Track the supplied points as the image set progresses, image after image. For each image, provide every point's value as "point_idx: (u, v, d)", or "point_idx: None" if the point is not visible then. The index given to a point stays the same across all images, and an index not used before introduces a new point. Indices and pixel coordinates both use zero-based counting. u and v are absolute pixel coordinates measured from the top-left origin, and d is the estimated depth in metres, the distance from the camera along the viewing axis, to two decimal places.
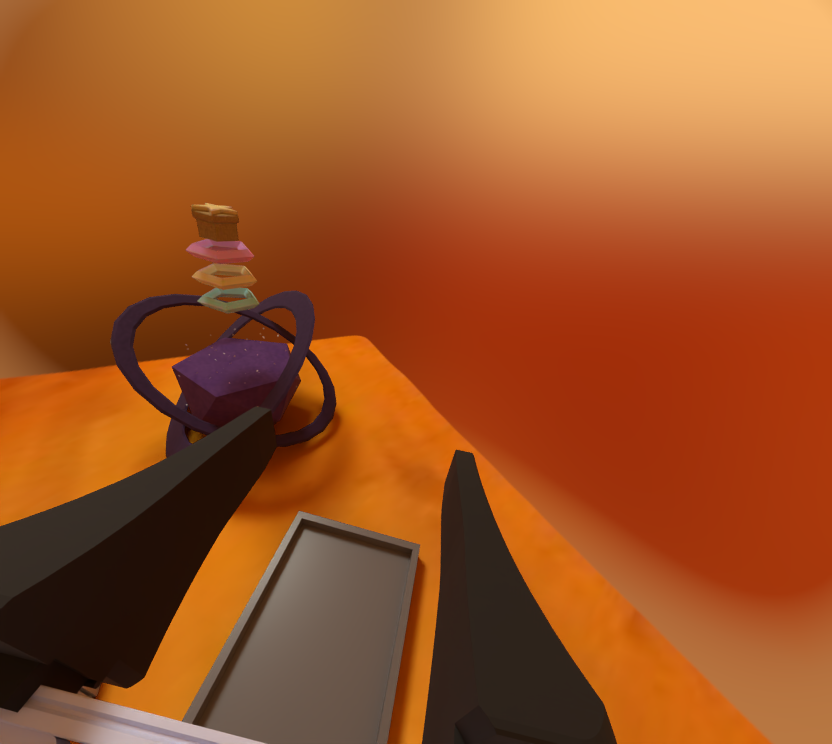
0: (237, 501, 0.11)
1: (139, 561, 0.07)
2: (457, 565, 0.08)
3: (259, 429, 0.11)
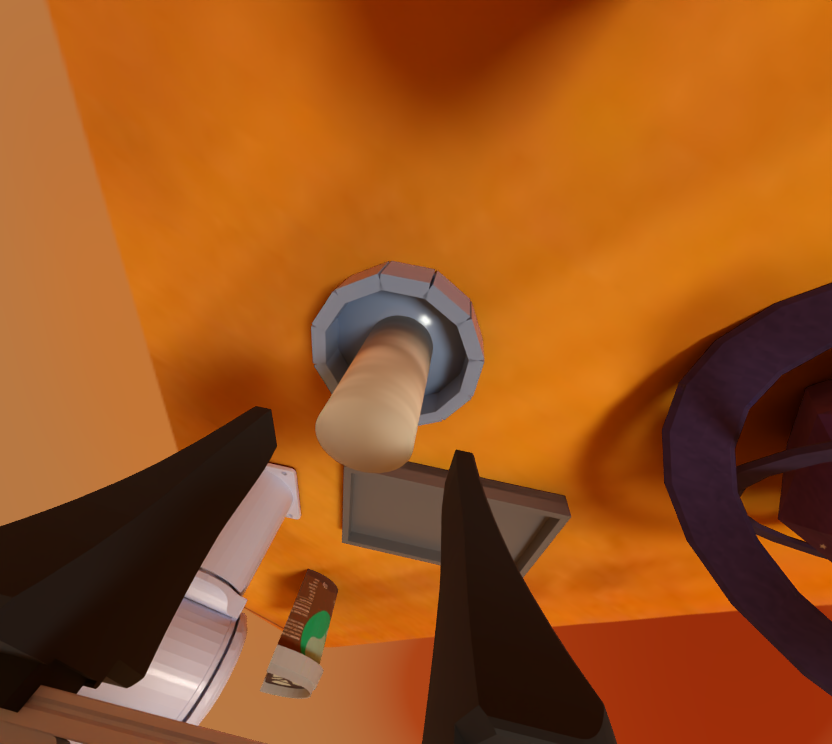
0: (237, 501, 0.11)
1: (139, 561, 0.07)
2: (457, 565, 0.08)
3: (259, 429, 0.11)
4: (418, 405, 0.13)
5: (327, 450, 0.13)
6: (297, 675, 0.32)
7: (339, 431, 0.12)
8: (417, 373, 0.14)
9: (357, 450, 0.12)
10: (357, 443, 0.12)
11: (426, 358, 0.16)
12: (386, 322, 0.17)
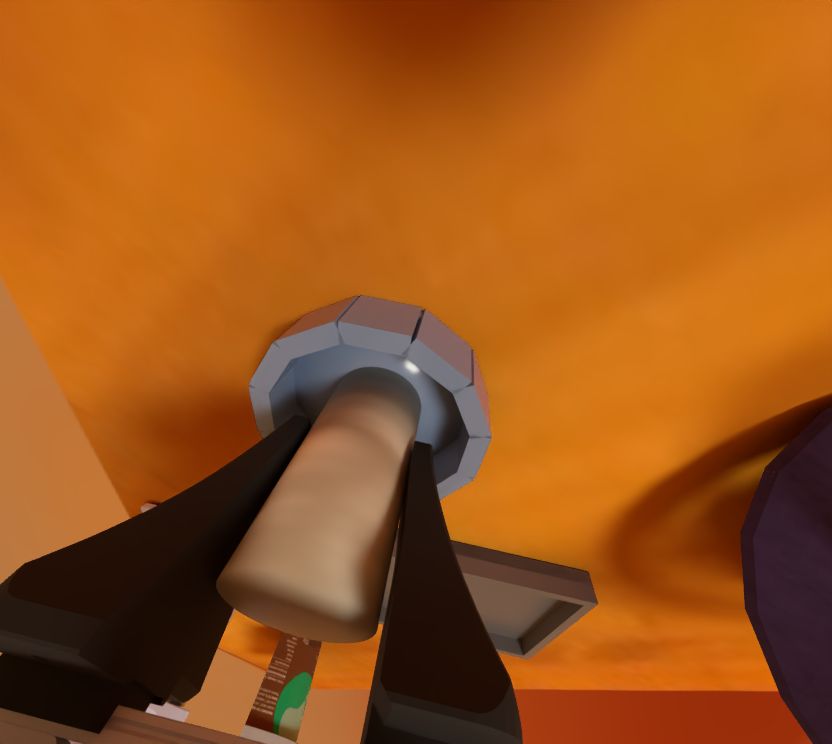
0: None
1: (202, 576, 0.07)
2: (399, 551, 0.08)
3: (300, 438, 0.11)
4: (390, 535, 0.08)
5: (244, 613, 0.08)
6: None
7: (256, 598, 0.07)
8: (393, 473, 0.09)
9: (290, 618, 0.08)
10: (288, 612, 0.07)
11: (409, 435, 0.11)
12: (354, 378, 0.12)
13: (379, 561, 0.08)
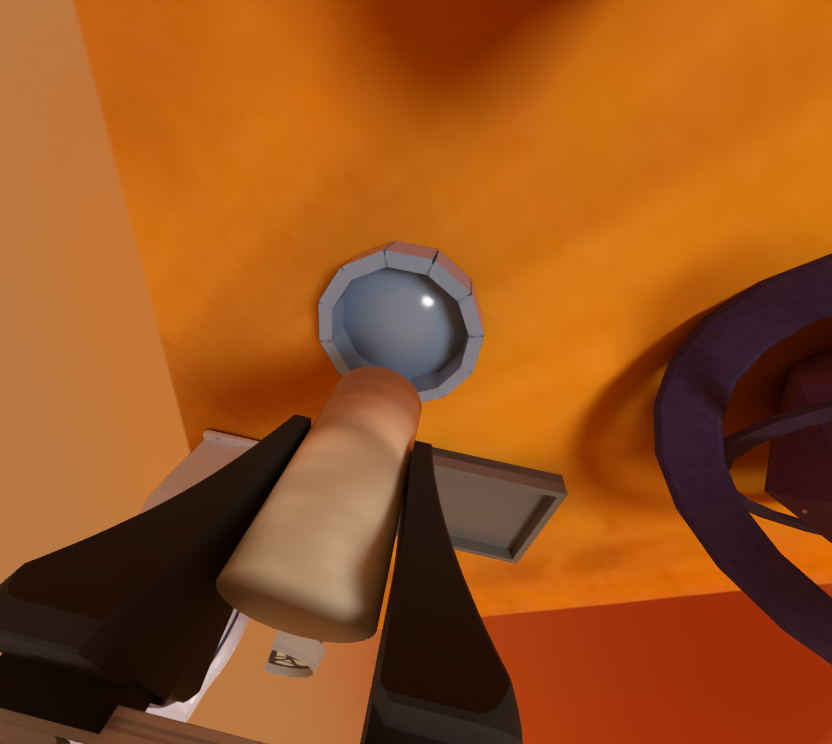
0: None
1: (202, 576, 0.07)
2: (399, 551, 0.08)
3: (300, 438, 0.11)
4: (390, 534, 0.08)
5: (244, 612, 0.08)
6: (300, 653, 0.33)
7: (256, 598, 0.07)
8: (392, 473, 0.09)
9: (290, 618, 0.08)
10: (288, 612, 0.07)
11: (409, 434, 0.11)
12: (354, 377, 0.12)
13: (379, 561, 0.08)
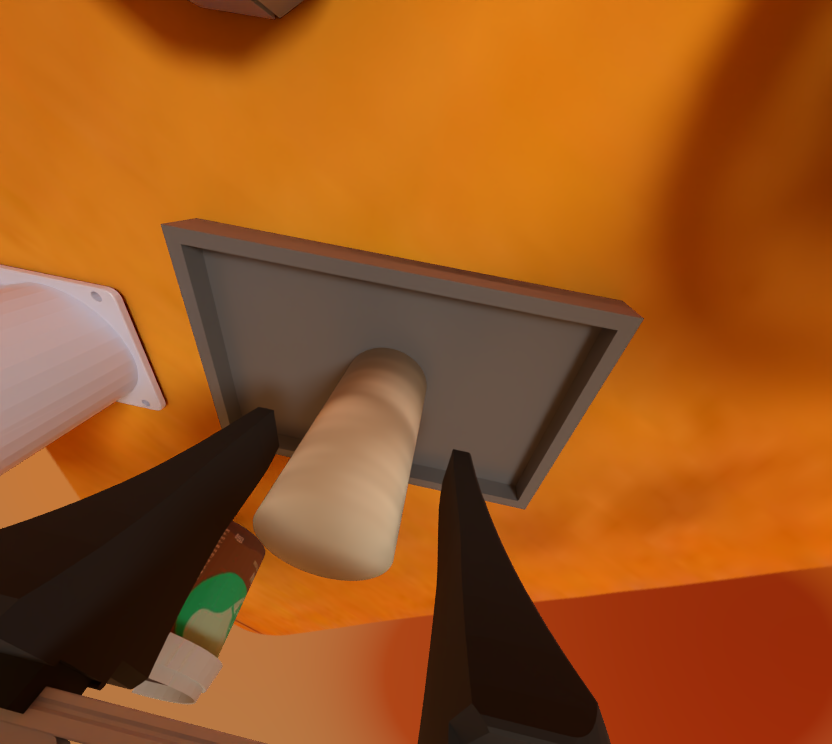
0: (240, 502, 0.11)
1: (143, 562, 0.07)
2: (453, 564, 0.08)
3: (262, 430, 0.11)
4: (402, 481, 0.09)
5: (277, 554, 0.09)
6: (160, 667, 0.19)
7: (287, 534, 0.08)
8: (401, 432, 0.10)
9: (317, 555, 0.09)
10: (315, 548, 0.09)
11: (415, 403, 0.12)
12: (363, 357, 0.14)
13: (392, 499, 0.09)
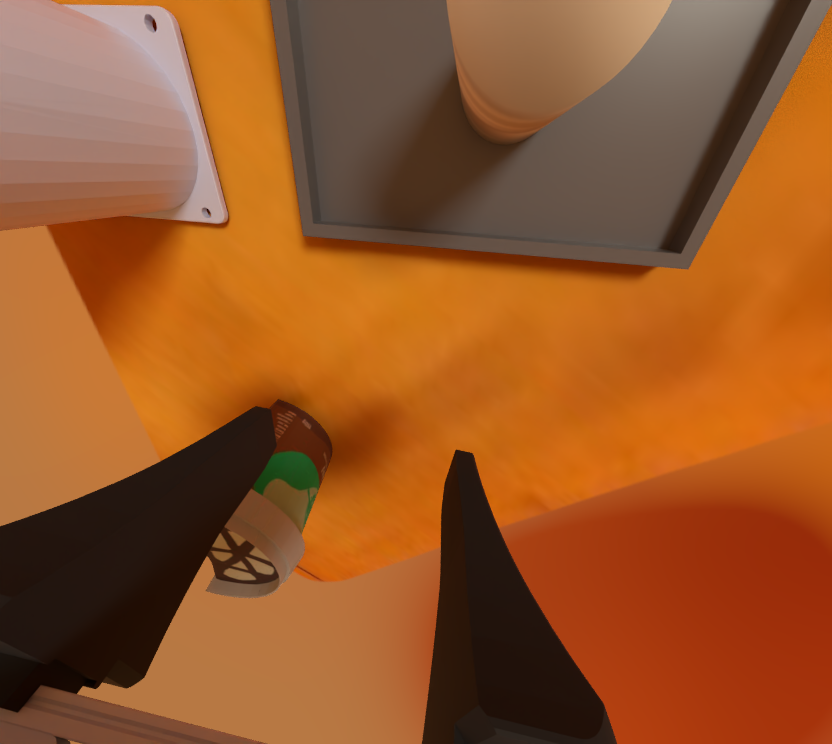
0: (237, 501, 0.11)
1: (139, 561, 0.07)
2: (457, 565, 0.08)
3: (259, 429, 0.11)
4: None
5: (468, 57, 0.06)
6: (243, 523, 0.16)
7: None
8: None
9: (541, 19, 0.06)
10: None
11: None
12: None
13: None
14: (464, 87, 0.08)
